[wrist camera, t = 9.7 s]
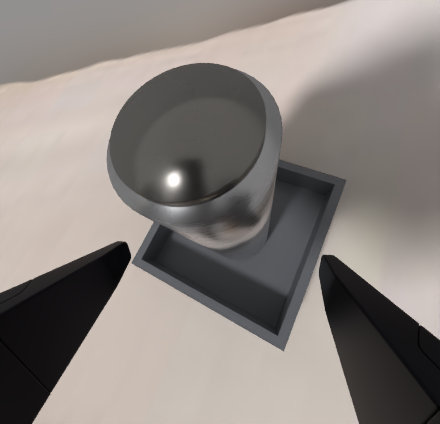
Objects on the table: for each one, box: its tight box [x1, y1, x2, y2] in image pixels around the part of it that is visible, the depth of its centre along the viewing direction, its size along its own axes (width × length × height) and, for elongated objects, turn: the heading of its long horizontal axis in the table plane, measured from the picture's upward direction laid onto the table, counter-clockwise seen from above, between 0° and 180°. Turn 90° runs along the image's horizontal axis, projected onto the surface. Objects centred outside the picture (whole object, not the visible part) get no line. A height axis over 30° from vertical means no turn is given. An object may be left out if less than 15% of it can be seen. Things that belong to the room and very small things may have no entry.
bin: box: [132, 160, 346, 351], centre depth 17 cm, size 12×12×3 cm
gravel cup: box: [107, 63, 282, 260], centre depth 11 cm, size 5×5×13 cm
